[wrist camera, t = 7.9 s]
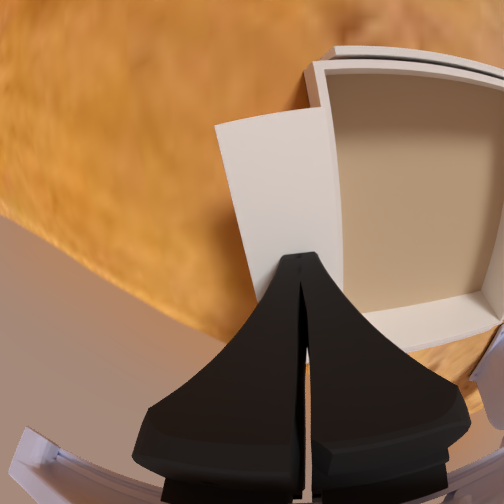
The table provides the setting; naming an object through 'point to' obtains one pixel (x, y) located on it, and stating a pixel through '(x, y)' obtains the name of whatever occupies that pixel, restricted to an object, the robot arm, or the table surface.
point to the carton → (416, 188)
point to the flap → (281, 189)
